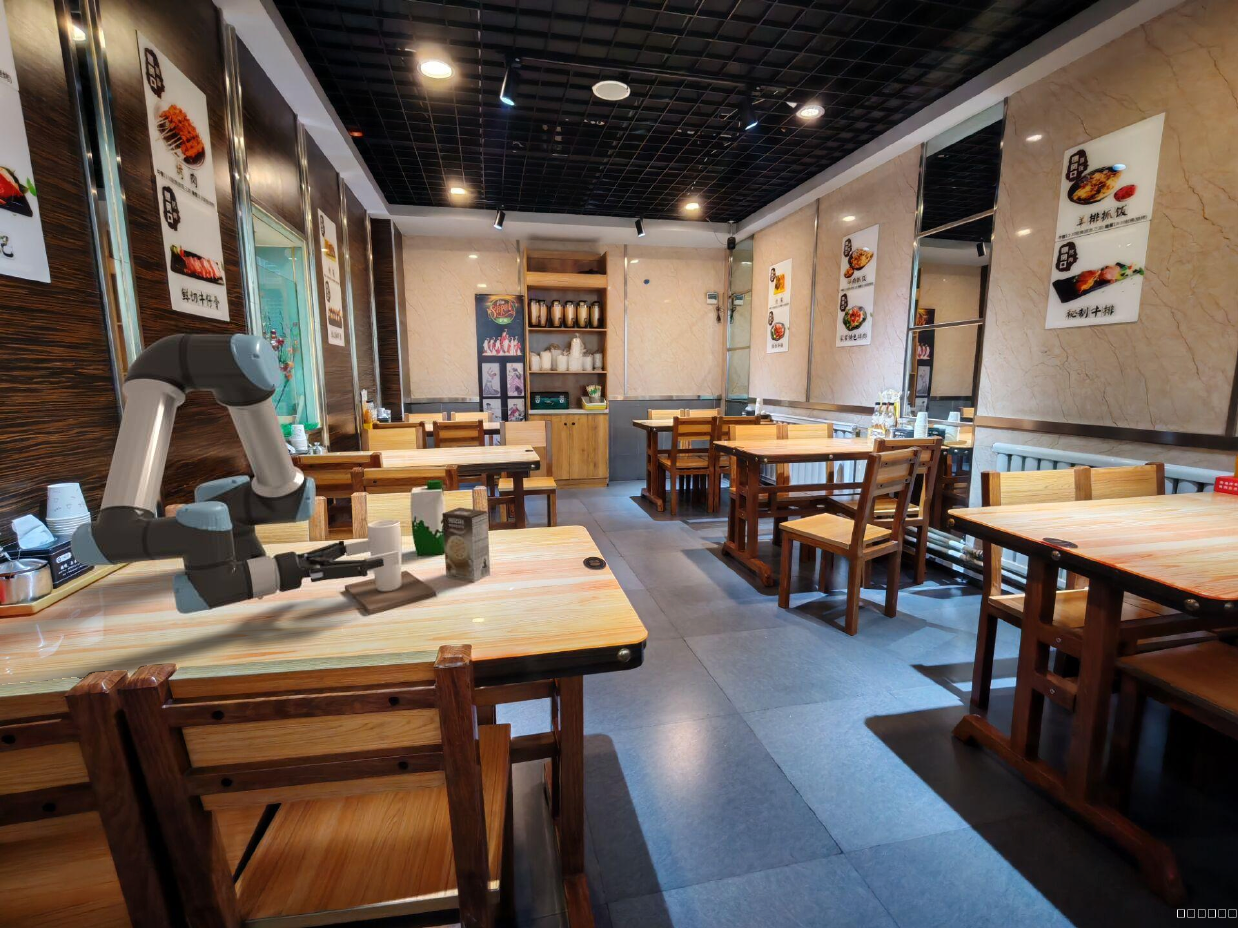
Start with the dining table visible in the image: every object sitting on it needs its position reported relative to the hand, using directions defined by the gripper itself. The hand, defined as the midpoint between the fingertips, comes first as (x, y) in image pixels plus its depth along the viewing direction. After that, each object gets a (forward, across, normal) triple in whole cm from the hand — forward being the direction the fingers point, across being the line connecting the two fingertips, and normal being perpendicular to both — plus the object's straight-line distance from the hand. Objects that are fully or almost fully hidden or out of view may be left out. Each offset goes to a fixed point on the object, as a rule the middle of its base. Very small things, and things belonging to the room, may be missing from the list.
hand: (386, 550), depth 120 cm
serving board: (0, 0, -10) cm, 10 cm away
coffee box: (+18, +2, -10) cm, 21 cm away
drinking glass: (0, 0, -9) cm, 9 cm away
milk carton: (+19, -23, -10) cm, 32 cm away
